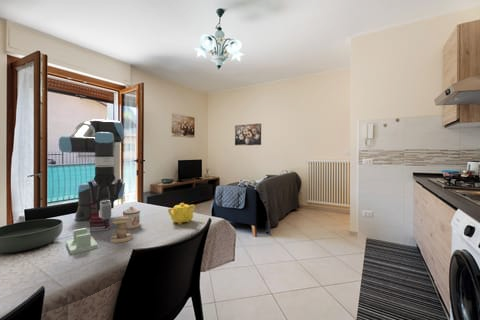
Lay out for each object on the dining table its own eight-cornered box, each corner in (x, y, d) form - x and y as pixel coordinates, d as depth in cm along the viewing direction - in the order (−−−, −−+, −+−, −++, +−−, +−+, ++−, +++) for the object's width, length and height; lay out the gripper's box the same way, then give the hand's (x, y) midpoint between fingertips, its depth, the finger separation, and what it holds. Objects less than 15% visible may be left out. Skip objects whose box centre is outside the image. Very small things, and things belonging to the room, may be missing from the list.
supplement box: (110, 227, 128) (109, 200, 128) (106, 230, 123) (105, 202, 123) (93, 228, 127) (93, 200, 126) (89, 231, 122) (88, 202, 122)
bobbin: (107, 238, 112) (107, 218, 112) (129, 233, 119) (129, 215, 118) (113, 244, 105) (113, 223, 104) (135, 239, 112) (135, 219, 111)
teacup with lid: (134, 229, 126) (134, 208, 126) (119, 228, 127) (119, 208, 126) (145, 222, 138) (145, 203, 138) (131, 222, 139) (131, 203, 138)
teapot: (166, 225, 133) (166, 206, 132) (174, 218, 147) (174, 200, 147) (190, 226, 132) (189, 206, 132) (195, 219, 146) (195, 201, 146)
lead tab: (100, 216, 104) (99, 204, 104) (107, 215, 107) (107, 203, 106) (103, 219, 100) (103, 206, 100) (110, 218, 102) (110, 205, 102)
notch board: (66, 244, 105) (66, 230, 104) (91, 238, 112) (91, 225, 111) (70, 254, 94) (70, 239, 94) (97, 247, 101) (97, 233, 101)
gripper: (85, 167, 94) (86, 222, 95) (125, 165, 105) (126, 214, 106) (82, 166, 100) (82, 217, 101) (121, 164, 111) (121, 211, 112)
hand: (105, 216), depth 104 cm, fingers closed on lead tab, 3 cm apart
